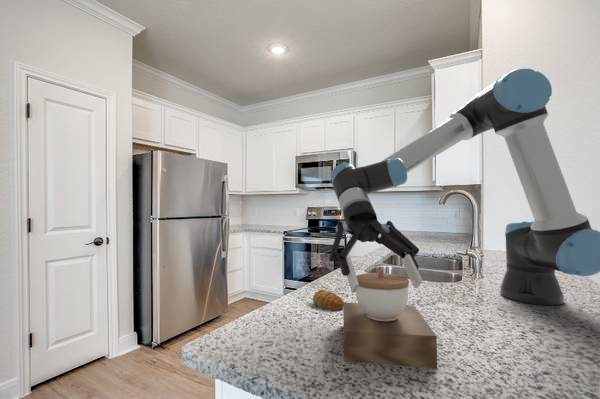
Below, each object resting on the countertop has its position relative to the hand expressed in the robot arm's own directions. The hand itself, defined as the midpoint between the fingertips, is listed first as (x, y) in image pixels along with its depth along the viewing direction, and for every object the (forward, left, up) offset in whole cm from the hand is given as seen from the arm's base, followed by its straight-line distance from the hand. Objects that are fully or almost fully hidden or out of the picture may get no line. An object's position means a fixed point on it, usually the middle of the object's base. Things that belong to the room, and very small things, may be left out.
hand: (387, 286), depth 58 cm
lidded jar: (+1, -2, -7) cm, 7 cm away
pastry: (+9, -27, -13) cm, 31 cm away
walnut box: (0, -2, -13) cm, 13 cm away
